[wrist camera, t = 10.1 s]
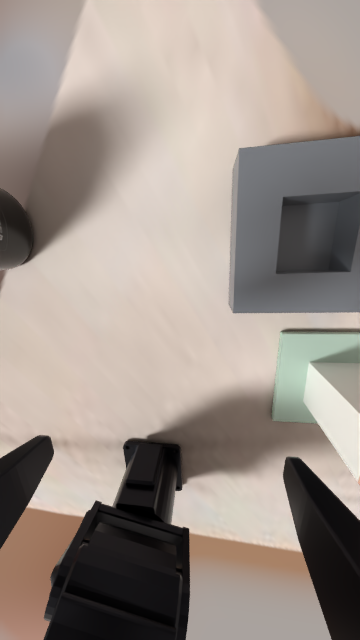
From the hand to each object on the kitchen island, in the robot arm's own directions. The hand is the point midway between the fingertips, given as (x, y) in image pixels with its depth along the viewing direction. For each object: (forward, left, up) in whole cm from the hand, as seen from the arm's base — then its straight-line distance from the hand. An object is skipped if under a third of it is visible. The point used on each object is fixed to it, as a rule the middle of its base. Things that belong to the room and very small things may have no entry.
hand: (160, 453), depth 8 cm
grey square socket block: (+8, -9, -12) cm, 17 cm away
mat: (-4, -13, -12) cm, 18 cm away
